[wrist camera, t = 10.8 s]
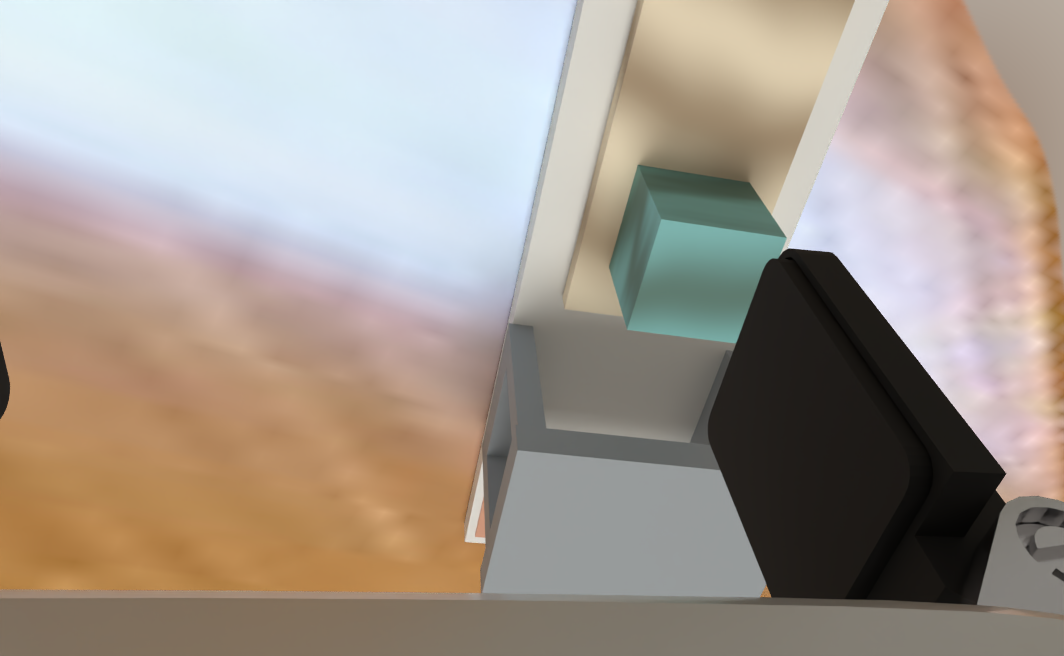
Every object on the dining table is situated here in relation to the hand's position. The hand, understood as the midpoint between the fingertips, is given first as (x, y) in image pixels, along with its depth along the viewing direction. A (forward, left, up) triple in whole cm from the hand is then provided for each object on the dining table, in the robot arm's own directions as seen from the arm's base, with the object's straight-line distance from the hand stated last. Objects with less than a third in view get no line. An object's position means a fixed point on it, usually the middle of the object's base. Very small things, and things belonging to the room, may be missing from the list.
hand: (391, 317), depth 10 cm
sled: (+4, +12, -25) cm, 28 cm away
